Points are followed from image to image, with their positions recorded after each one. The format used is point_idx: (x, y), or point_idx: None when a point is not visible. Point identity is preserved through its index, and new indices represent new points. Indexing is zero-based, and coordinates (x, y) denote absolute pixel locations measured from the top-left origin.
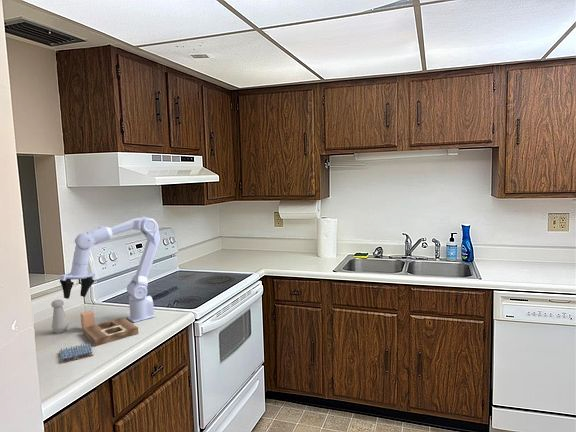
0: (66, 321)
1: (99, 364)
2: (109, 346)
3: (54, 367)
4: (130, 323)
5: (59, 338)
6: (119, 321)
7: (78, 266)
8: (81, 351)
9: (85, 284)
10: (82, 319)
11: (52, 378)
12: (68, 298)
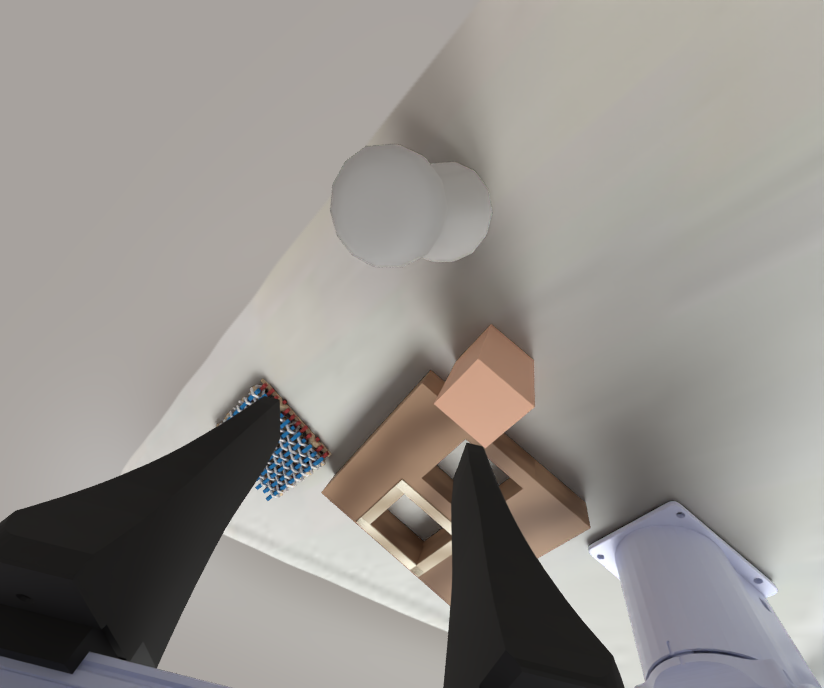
0: (453, 257)
1: (247, 526)
2: (343, 517)
3: (197, 420)
4: None
5: (370, 280)
6: (523, 524)
7: None
8: (270, 462)
9: (461, 622)
10: (455, 373)
11: (163, 447)
12: (275, 439)
